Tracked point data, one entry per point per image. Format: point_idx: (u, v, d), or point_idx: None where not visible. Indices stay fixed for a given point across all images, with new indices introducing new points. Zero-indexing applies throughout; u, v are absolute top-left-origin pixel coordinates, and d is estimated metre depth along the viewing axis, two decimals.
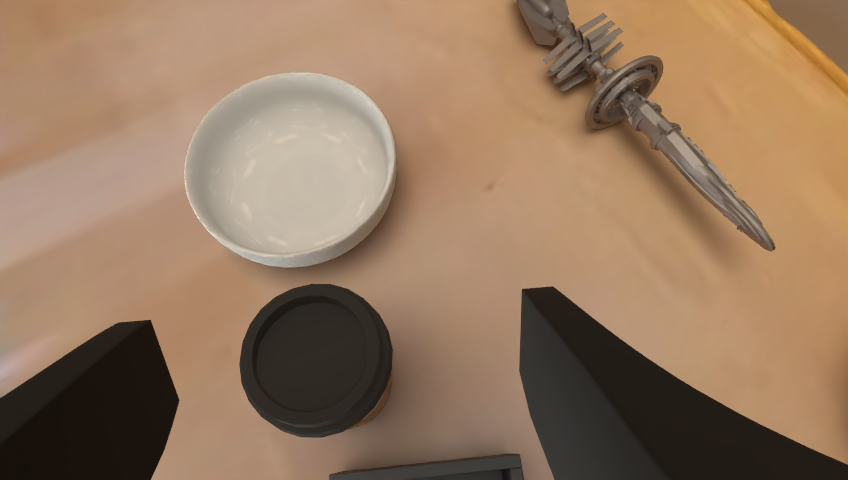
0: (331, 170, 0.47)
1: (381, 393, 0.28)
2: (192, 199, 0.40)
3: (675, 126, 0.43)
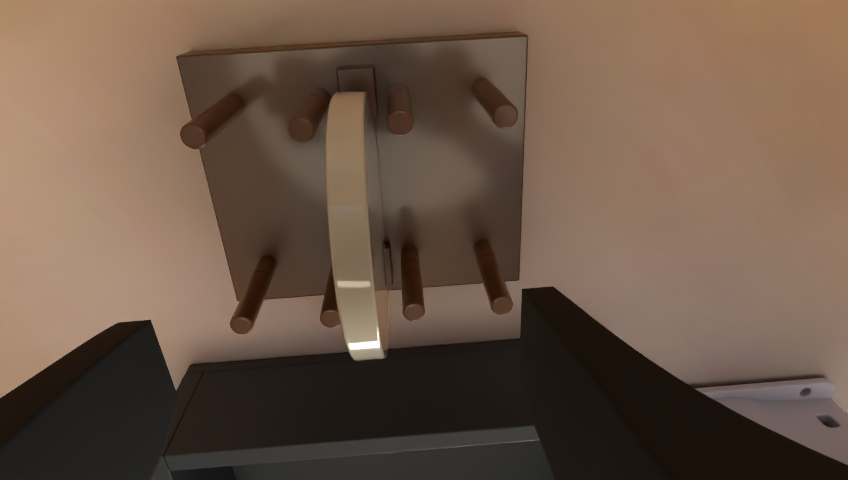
0: None
1: None
2: None
3: None
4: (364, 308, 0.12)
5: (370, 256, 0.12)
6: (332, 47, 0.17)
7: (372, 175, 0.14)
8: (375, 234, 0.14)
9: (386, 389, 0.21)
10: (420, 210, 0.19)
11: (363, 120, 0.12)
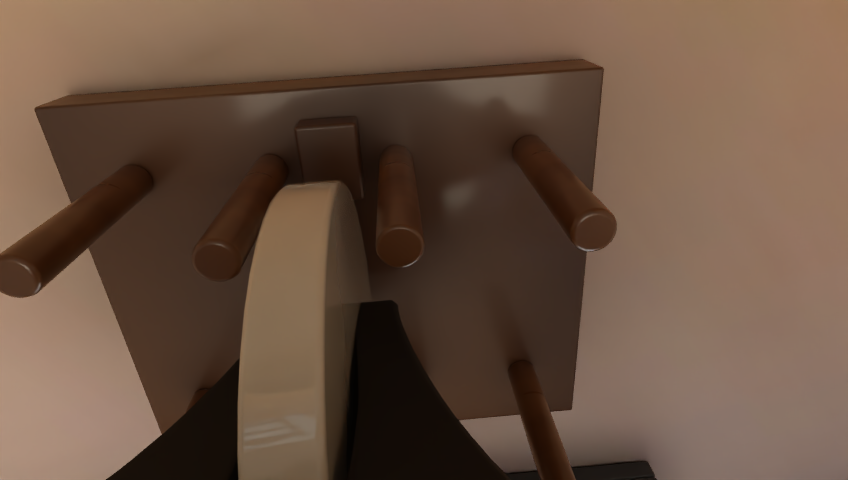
0: None
1: None
2: None
3: None
4: None
5: None
6: (289, 90, 0.10)
7: (349, 338, 0.08)
8: None
9: None
10: (430, 323, 0.13)
11: (323, 271, 0.06)
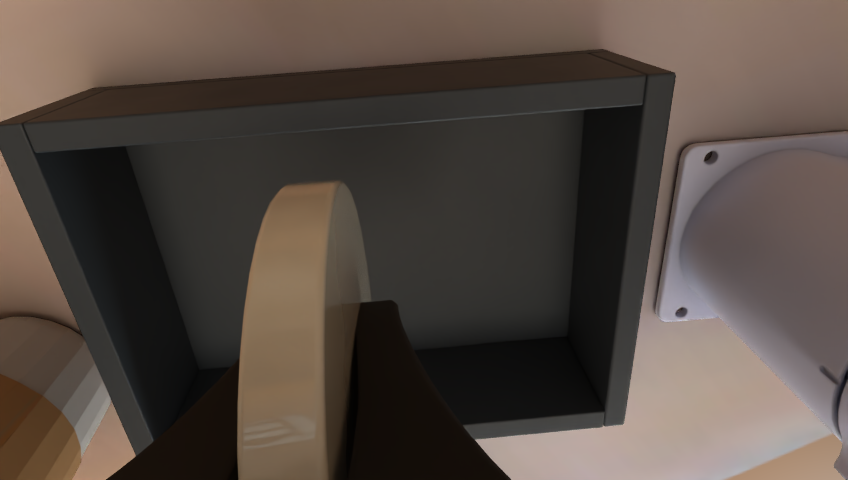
0: None
1: None
2: None
3: None
4: None
5: None
6: None
7: (349, 338, 0.08)
8: None
9: (345, 81, 0.16)
10: None
11: (323, 271, 0.06)
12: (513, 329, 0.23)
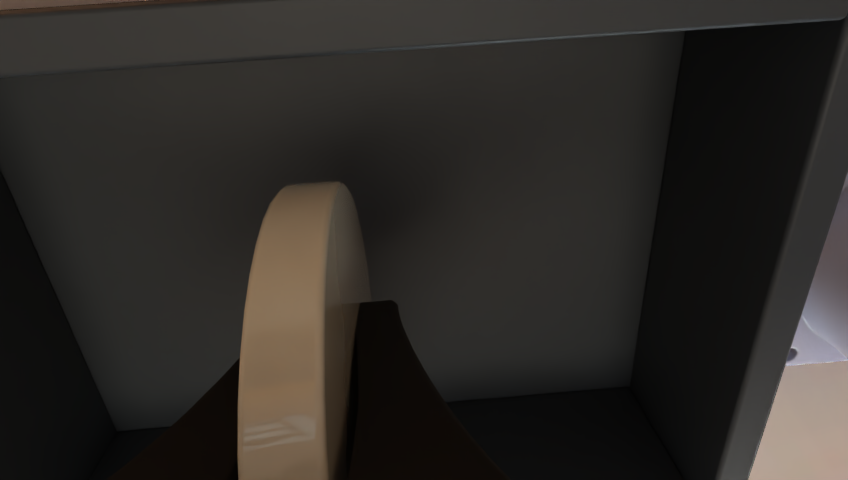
0: None
1: None
2: None
3: None
4: None
5: None
6: None
7: (349, 339, 0.08)
8: None
9: None
10: None
11: (323, 272, 0.06)
12: (555, 377, 0.16)
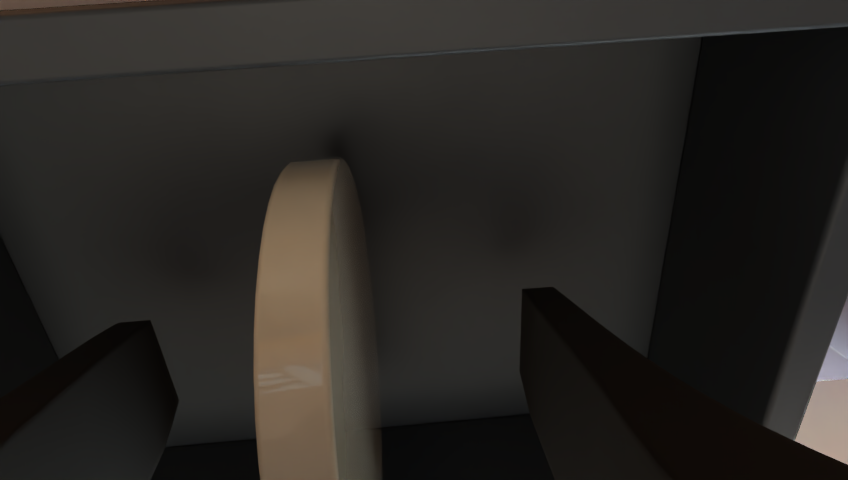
0: None
1: None
2: None
3: None
4: None
5: None
6: None
7: (350, 297, 0.08)
8: (355, 405, 0.08)
9: None
10: None
11: (328, 225, 0.07)
12: None
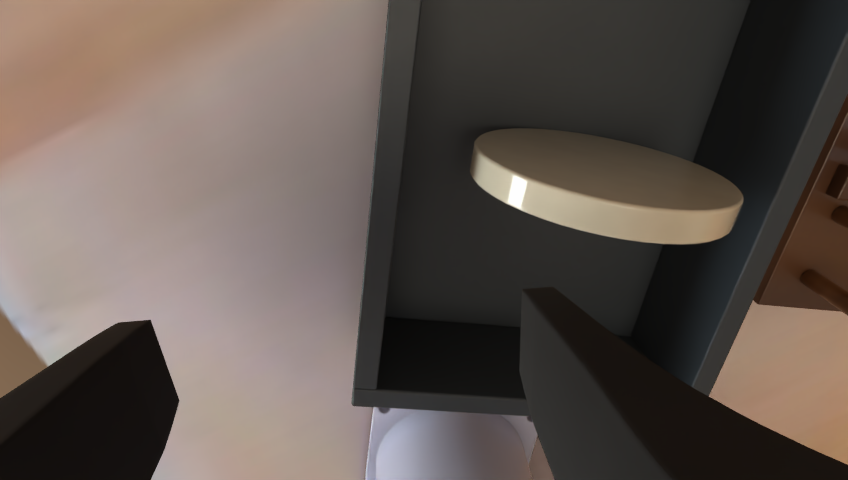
0: None
1: None
2: None
3: None
4: (653, 233, 0.12)
5: (694, 243, 0.13)
6: None
7: None
8: None
9: None
10: None
11: None
12: (400, 266, 0.21)
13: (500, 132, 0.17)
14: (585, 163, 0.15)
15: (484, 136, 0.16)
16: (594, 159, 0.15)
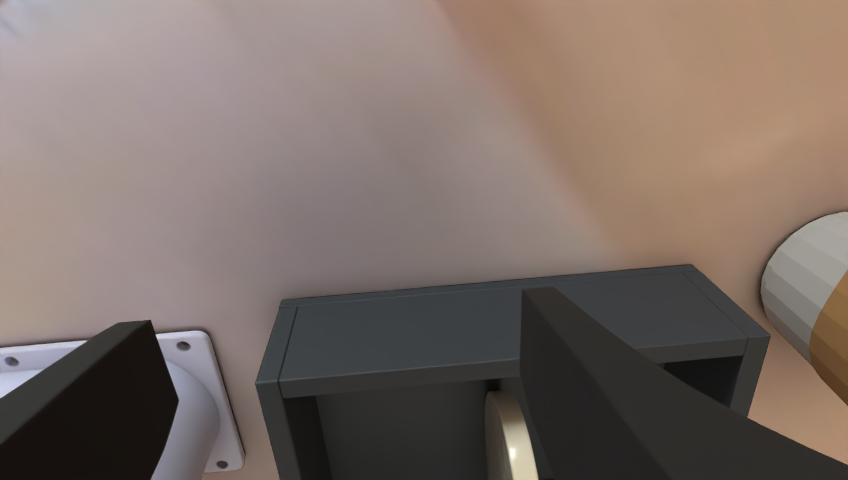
0: None
1: None
2: None
3: None
4: None
5: None
6: None
7: None
8: None
9: None
10: None
11: None
12: None
13: None
14: None
15: None
16: None
